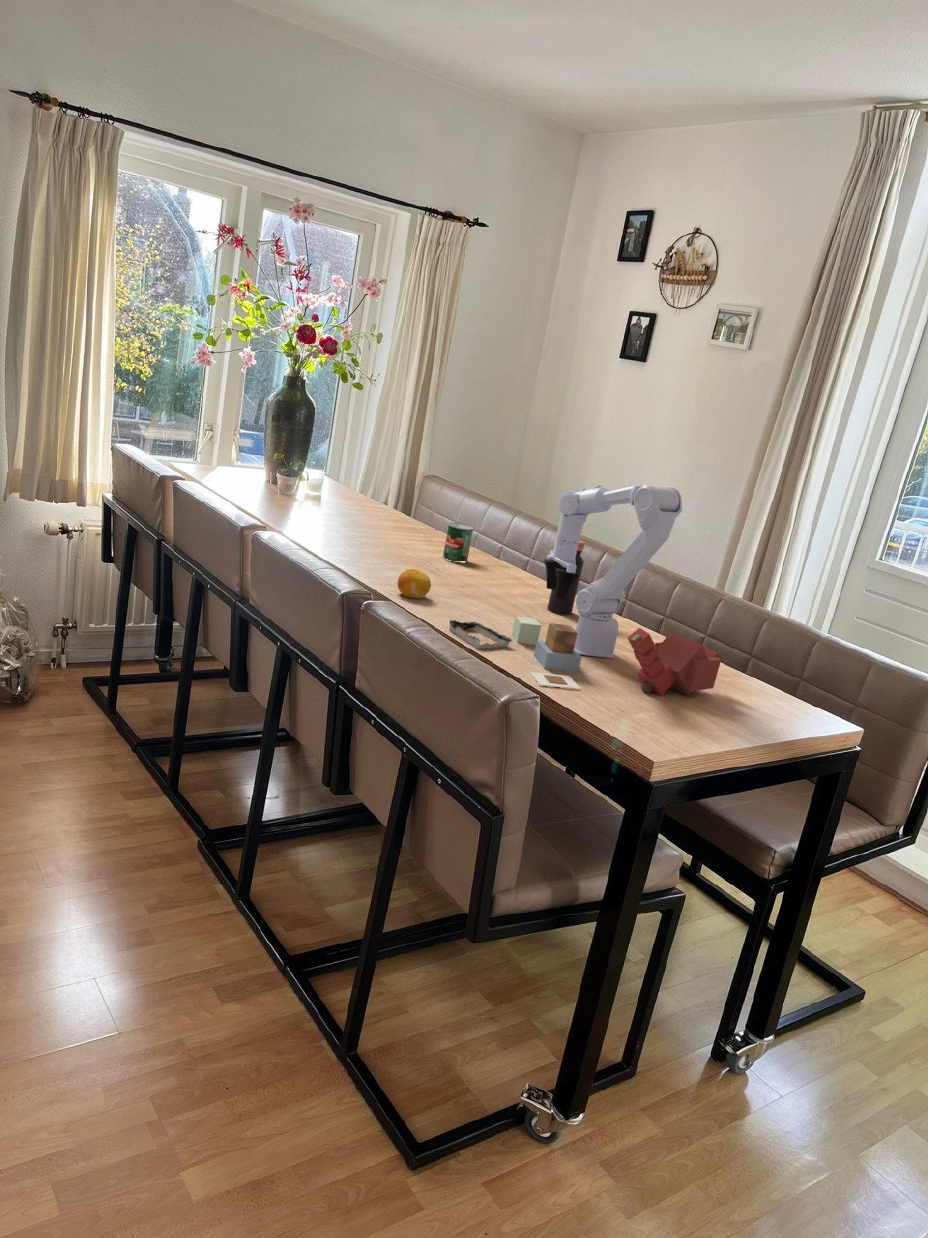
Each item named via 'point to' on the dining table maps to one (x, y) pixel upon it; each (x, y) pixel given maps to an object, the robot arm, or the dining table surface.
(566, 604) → the bottle
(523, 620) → the sage block
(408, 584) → the fruit
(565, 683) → the card
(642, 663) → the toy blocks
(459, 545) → the canned tomato
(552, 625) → the walnut block
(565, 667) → the slate base block
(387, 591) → the dining table surface
